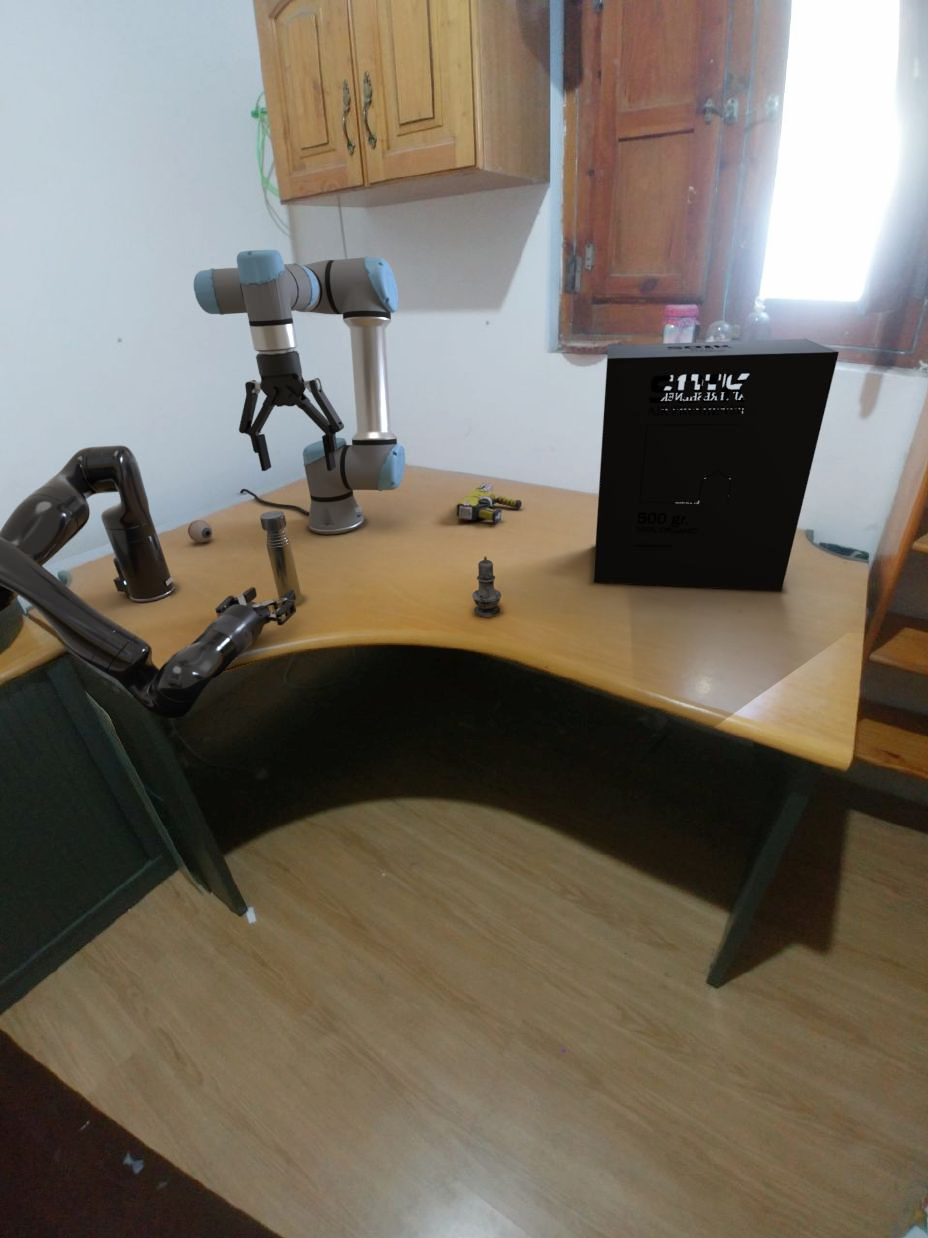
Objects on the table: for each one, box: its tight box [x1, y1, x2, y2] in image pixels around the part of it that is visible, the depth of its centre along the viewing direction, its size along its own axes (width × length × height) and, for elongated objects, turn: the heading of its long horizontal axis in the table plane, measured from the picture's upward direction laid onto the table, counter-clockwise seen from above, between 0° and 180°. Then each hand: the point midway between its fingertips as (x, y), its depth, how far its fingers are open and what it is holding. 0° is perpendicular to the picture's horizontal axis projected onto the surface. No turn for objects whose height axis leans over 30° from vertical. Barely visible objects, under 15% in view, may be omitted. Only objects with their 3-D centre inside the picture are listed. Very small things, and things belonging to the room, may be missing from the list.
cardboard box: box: [593, 338, 840, 592], centre depth 124 cm, size 38×20×45 cm, turn 78°
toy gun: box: [455, 482, 523, 525], centre depth 172 cm, size 5×24×15 cm
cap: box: [259, 510, 287, 532], centre depth 121 cm, size 5×5×3 cm
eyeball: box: [187, 519, 213, 544], centre depth 162 cm, size 6×6×6 cm
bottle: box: [265, 527, 303, 606], centre depth 126 cm, size 5×5×19 cm
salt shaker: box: [471, 555, 502, 618], centre depth 119 cm, size 6×6×12 cm
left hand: (273, 592), depth 123 cm, fingers open, 8 cm apart
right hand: (299, 469), depth 118 cm, fingers open, 13 cm apart
